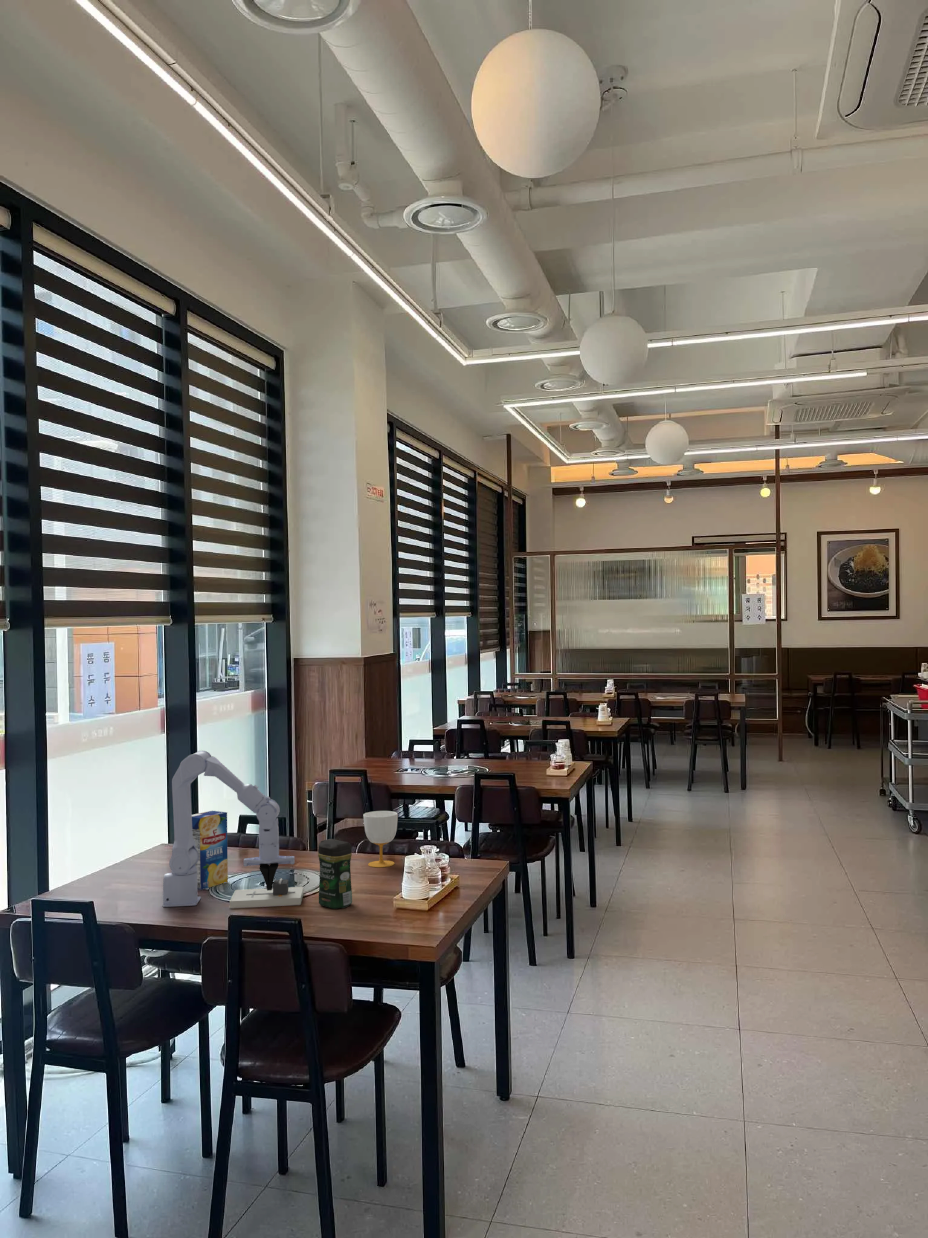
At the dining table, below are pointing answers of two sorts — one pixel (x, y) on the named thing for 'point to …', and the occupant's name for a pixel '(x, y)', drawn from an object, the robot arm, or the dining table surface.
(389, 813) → the cup
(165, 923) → the dining table surface
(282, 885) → the block
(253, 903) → the control panel
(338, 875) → the coffee jar
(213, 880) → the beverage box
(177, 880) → the robot arm
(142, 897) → the dining table surface
